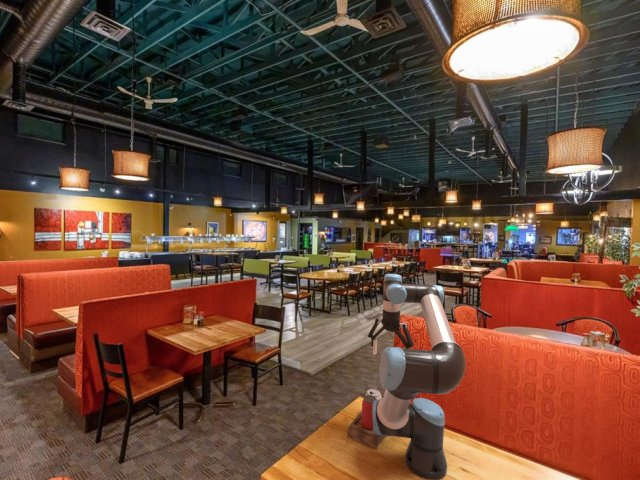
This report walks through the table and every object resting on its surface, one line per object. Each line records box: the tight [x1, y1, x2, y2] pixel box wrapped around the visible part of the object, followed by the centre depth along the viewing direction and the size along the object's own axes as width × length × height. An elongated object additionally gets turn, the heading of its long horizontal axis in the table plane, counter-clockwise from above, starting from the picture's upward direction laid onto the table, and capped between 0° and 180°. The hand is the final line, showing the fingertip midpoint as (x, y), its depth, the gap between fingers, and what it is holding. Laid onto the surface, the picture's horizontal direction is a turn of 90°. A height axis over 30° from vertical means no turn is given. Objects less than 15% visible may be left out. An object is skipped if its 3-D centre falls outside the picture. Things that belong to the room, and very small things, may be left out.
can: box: [365, 388, 383, 400], centre depth 150 cm, size 8×8×12 cm
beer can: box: [361, 395, 377, 430], centre depth 136 cm, size 7×7×12 cm
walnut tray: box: [348, 411, 387, 450], centre depth 137 cm, size 13×13×5 cm
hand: (389, 357), depth 139 cm, fingers open, 13 cm apart
